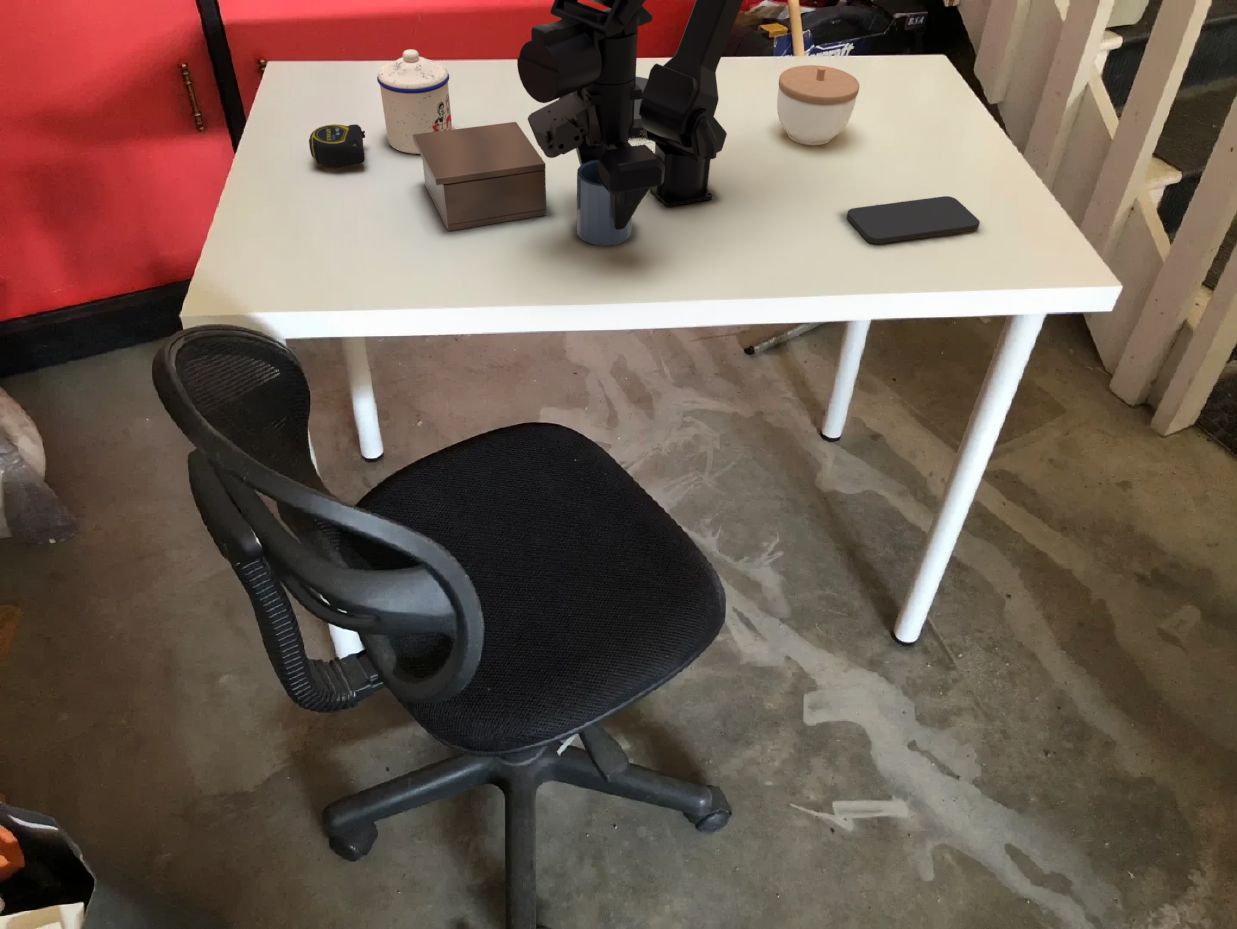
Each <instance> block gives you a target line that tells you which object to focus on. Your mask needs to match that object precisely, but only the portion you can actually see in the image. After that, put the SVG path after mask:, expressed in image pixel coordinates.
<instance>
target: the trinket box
mask: <svg viewBox="0 0 1237 929" xmlns="http://www.w3.org/2000/svg"><path fill="white" fill-rule="evenodd" d="M777 91H778V92H777V99H776V101H777V102H776V108H777V110H776V111H777V115H778V119H779V122H780V125H781V126H782V128H783V130H784V131H785V132H786V133H787V136H788V138H789V139H790V140H791V141H793V142H795V143H797V144H800V145H805V146H812V147H813V146H815V147H816V146H823V145H826V144H828V143H830V142H831V140H832V139H834V138H835V137H837V136H838V135H839V134H840V133H842V131H843V130H844V129H845V128H846V126H847V125H848V123H849V121H850V119H851V117H852V114H853V111H854V109H855V106H856V102H857V101H856V100H857V96H858V94H859V92H860V83H859V80H858V79H857V78H856V77H855V76H854V75H852V74H850V73H849V72H846V71H844V70H841V69H838V68H835V67H830V66H826V65H818V64H817V65H815V64H809V65H808V64H806V65H797V66H792V67H790V68H787V69H785V70H783V71H782V72H781V74H780V75H779V78H778V90H777Z"/></svg>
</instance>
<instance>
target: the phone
mask: <svg viewBox="0 0 1237 929" xmlns="http://www.w3.org/2000/svg"><path fill="white" fill-rule="evenodd" d="M846 218H847V220H848V221H849V222H850V224H852V226H853V227H854V228H855V229H856V230H857V231H858V232H859V234H860V235H861V236H862V237H863V238H864V239H865V241H867V242H868V243H871V244H876V245H877V244H885V243H886V244H887V243H893V242H900V241H907V240H915V239H920V238H921V239H922V238H928V237H935V236H942V235H943V236H944V235H950V234H957V233H964V232H970V231H971V232H972V231H975V230H978V229H979V227H980V224H981V222H980V220H979V219H978V218H977V217H976V216H975V215H974V214H973V213H972V212H971V211H970V210H969V209H968V208H966V207H965V205H963V203H961V202H960V201H959V200H958V199H957V198H955V197H953V196H948V195H944V196H943V195H942V196H936V197H928V198H919V199H912V200H905V201H897V202H890V203H881V204H875V205H868V206H859V207H853V208H850V209H848V210H847V212H846Z"/></svg>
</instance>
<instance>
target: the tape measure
mask: <svg viewBox="0 0 1237 929" xmlns="http://www.w3.org/2000/svg"><path fill="white" fill-rule="evenodd" d="M365 134H366V132H365V130H362V127H361V126H360V125H359V124H358V123H357V124H355V123H354V124H349V125H345V124H326V125H323V126H319V127H317V128H316V129H314V130H313V131H312V132H311V133H310V135H309V139H308V144H309V150H310V151H309V152H310V155H311V157H312V159H313V160H314V161H315V162H316V164H318V165H320V166H322V167H325V168H327V169H328V168H329V169H330V168H331V169H342V168H347V167H353V166H359V165H362V164H364V162H365V160H366V158H365V149H364V139H365V138H366V135H365Z"/></svg>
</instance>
